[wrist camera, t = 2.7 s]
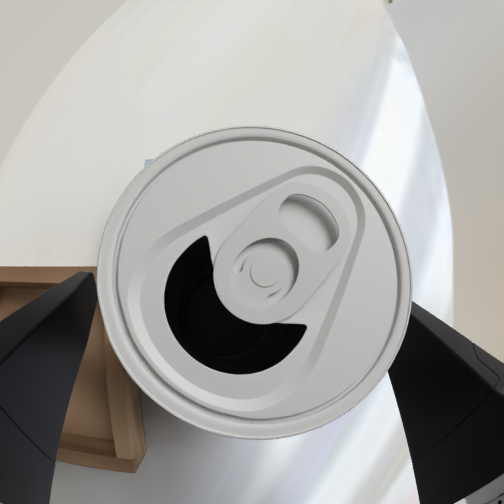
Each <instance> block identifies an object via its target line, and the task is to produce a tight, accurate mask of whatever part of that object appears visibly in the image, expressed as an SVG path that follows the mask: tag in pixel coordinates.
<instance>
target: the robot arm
mask: <svg viewBox="0 0 504 504" xmlns="http://www.w3.org/2000/svg"><path fill="white" fill-rule="evenodd" d="M97 301H98V295H97V288H96V283H95V278H94V274H93V273H92V272H90V271H79V272H77V273H75V274H74V275H72V276H70V277H69V278H67V279H65V280H64V281H62V282H60V283H59V284H57V285H56V286H54V287H52V288H51V289H49V290H47V291H46V292H44V293H43V294H41V295H39V296H38V297H36V298H35V299H33V300H32V301H30V302H28V303H27V304H25V305H24V306H22V307H21V308H19V309H18V310H16V311H15V312H13V313H12V314H10V315H9V316H7V317H6V318H4V319H3V320H1V321H0V504H49V501H50V494H51V487H52V480H53V474H54V468H55V464H54V463H55V462H56V457H57V452H58V447H59V442H60V438H61V433H62V429H63V425H64V421H65V417H66V413H67V409H68V405H69V401H70V398H71V394H72V391H73V387H74V384H75V380H76V377H77V374H78V371H79V367H80V364H81V361H82V358H83V355H84V352H85V349H86V346H87V343H88V339H89V334H90V330H91V326H92V321H93V317H94V313H95V309H96V305H97ZM388 374H389V377H390V380H391V384H392V387H393V391H394V394H395V397H396V401H397V405H398V408H399V412H400V415H401V419H402V423H403V427H404V431H405V435H406V439H407V443H408V447H409V451H410V456H411V460H412V463H413V464H412V465H413V470H414V475H415V480H416V485H417V490H418V495H419V501H420V504H454V503H456V502H458V501H460V500H461V499H463V498H464V499H465V502H466V504H504V363H502V362H501V361H499V360H497V359H496V358H495V357H493V356H491V355H490V354H489V353H487V352H486V351H484V350H483V349H481V348H480V347H479V346H477V345H476V344H474V343H472V342H471V341H470V340H469V339H467V338H466V337H464V336H463V335H461V334H460V333H459V332H457V331H456V330H454V329H453V328H451V327H450V326H448V325H447V324H446V323H444V322H443V321H441V320H440V319H438V318H437V317H435V316H434V315H432V314H431V313H429V312H428V311H426V310H425V309H423V308H422V307H420V306H419V305H417V304H416V303H414V302H413V301H412V304H411V312H410V317H409V321H408V326H407V329H406V332H405V336H404V339H403V341H402V344H401V346H400V349H399V351H398V353H397V355H396V357H395V359H394V361H393V363H392V364H391V366H390V368H389V369H388Z"/></svg>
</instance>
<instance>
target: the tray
mask: <svg viewBox="0 0 504 504" xmlns="http://www.w3.org/2000/svg"><path fill="white" fill-rule="evenodd" d="M79 271H90V272H92V273H93V274H94V278H95V283H96V288H97V266H96V267H3V266H0V321H1V320H3V319H4V318H6V317H7V316H9V315H10V314H12V313H13V312H15V311H16V310H18V309H19V308H21V307H22V306H24V305H25V304H27V303H28V302H30V301H32V300H33V299H35V298H36V297H38V296H39V295H41V294H43V293H44V292H46V291H47V290H49V289H51V288H52V287H54V286H56V285H57V284H59V283H60V282H62V281H64V280H65V279H67V278H69V277H70V276H72V275H74V274H75V273H77V272H79ZM146 452H147V449H146V442H145V435H144V427H143V418H142V409H141V399H140V388H139V386H138V385H137V384H136V383H135V382H134V380H133V379H132V378H131V377H130V375H129V374H128V373H127V371H126V370H125V368H124V367H123V365H122V364H121V362H120V360H119V359H118V357H117V355H116V353H115V351H114V350H113V348H112V345H111V343H110V341H109V338H108V335H107V332H106V329H105V325H104V322H103V318H102V314H101V310H100V305H99V300H98V301H97V305H96V309H95V313H94V317H93V321H92V326H91V330H90V334H89V339H88V343H87V346H86V349H85V352H84V355H83V358H82V361H81V364H80V367H79V371H78V374H77V377H76V380H75V384H74V387H73V391H72V394H71V398H70V401H69V405H68V409H67V413H66V417H65V421H64V425H63V429H62V433H61V438H60V442H59V447H58V452H57V457H56V460H59V461H63V462H68V463H72V464H77V465H82V466H87V467H93V468H99V469H105V470H112V471H120V472H128V473H136V471H137V469H138V467H139V465H140V463H141V461H142V460H143V458H144V456H145V454H146Z"/></svg>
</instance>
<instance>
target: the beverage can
mask: <svg viewBox="0 0 504 504" xmlns="http://www.w3.org/2000/svg"><path fill="white" fill-rule="evenodd" d="M412 289H413V284H412V269H411V261H410V256H409V251H408V247H407V244H406V240H405V237H404V234H403V231H402V229H401V226H400V224H399V222H398V219H397V217H396V215H395V213H394V211H393V209H392V208H391V206H390V204H389V202H388V201H387V199H386V198H385V196H384V195H383V194H382V192H381V191H380V189H379V188H378V187H377V186H376V184H375V183H374V182H373V181H372V180H371V179H370V178H369V177H368V176H367V175H366V174H365V173H364V172H363V171H362V170H361V169H360V168H359V167H358V166H357V165H356V164H355V163H353V162H352V161H351V160H350V159H348V158H347V157H346V156H344V155H343V154H341V153H340V152H339V151H337V150H335V149H334V148H332V147H330V146H328V145H326V144H324V143H323V142H321V141H319V140H316V139H314V138H311V137H309V136H306V135H303V134H300V133H297V132H294V131H290V130H286V129H281V128H275V127H268V126H233V127H226V128H220V129H216V130H212V131H208V132H204V133H201V134H198V135H196V136H193V137H191V138H188V139H186V140H184V141H182V142H180V143H178V144H176V145H174V146H172V147H171V148H169V149H168V150H166V151H165V152H163V153H161V154H160V155H159V156H157V157H156V158H155V159H153V160H152V161H151V162H150V163H149V164H147V165H146V166H145V167H144V168H143V169H142V170H141V171H140V172H139V173H138V174H137V175H136V176H135V178H134V179H133V180H132V181H131V182H130V184H129V185H128V186H127V188H126V189H125V191H124V192H123V193H122V195H121V197H120V198H119V200H118V201H117V203H116V205H115V207H114V209H113V211H112V213H111V215H110V217H109V220H108V222H107V224H106V227H105V230H104V233H103V237H102V241H101V245H100V249H99V255H98V263H97V295H98V300H99V305H100V310H101V314H102V318H103V322H104V325H105V329H106V332H107V335H108V338H109V341H110V343H111V345H112V348H113V350H114V351H115V353H116V355H117V357H118V359H119V360H120V362H121V364H122V365H123V367H124V368H125V370H126V371H127V373H128V374H129V375H130V377H131V378H132V379H133V380H134V382H135V383H136V384H137V385H138V386H139V387H140V388H141V389H142V390H143V392H144V393H146V394H147V395H148V396H149V397H150V398H151V399H152V400H153V401H154V402H156V403H157V404H158V405H160V406H161V407H162V408H163V409H165V410H166V411H168V412H169V413H171V414H172V415H174V416H175V417H177V418H179V419H180V420H182V421H184V422H186V423H188V424H190V425H193V426H195V427H197V428H199V429H202V430H204V431H207V432H211V433H214V434H218V435H222V436H226V437H232V438H239V439H252V440H268V439H278V438H285V437H290V436H295V435H299V434H302V433H305V432H308V431H311V430H314V429H317V428H319V427H322V426H324V425H326V424H328V423H330V422H332V421H334V420H335V419H337V418H339V417H341V416H342V415H344V414H345V413H347V412H348V411H350V410H351V409H352V408H354V407H355V406H356V405H357V404H358V403H360V402H361V401H362V400H363V399H364V398H365V397H366V396H367V395H368V394H369V393H370V392H371V391H372V390H373V389H374V388H375V387H376V385H377V384H378V383H379V382H380V381H381V379H382V378H383V377H384V376H385V374H386V373H387V371H388V369H389V368H390V366H391V364H392V363H393V361H394V359H395V357H396V355H397V353H398V351H399V349H400V346H401V344H402V341H403V339H404V336H405V332H406V329H407V326H408V321H409V317H410V312H411V304H412Z"/></svg>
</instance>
